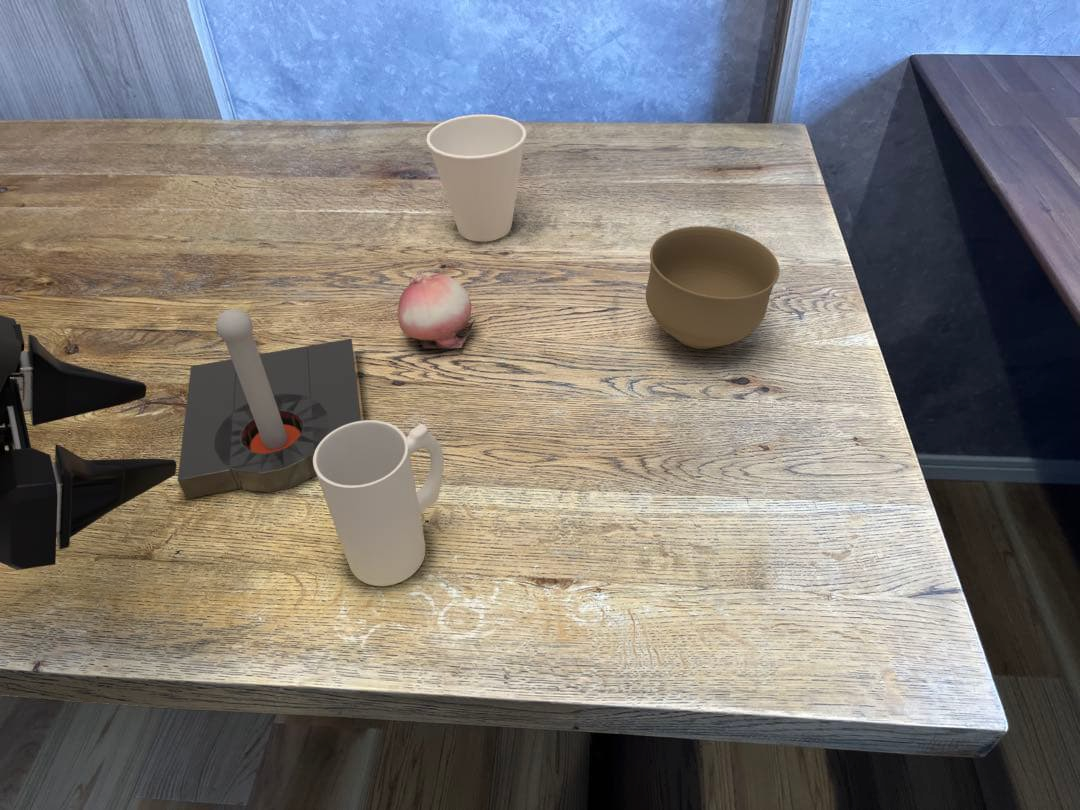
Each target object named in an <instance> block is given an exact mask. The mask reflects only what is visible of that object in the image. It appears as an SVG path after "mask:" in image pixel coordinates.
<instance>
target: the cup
mask: <svg viewBox="0 0 1080 810" xmlns="http://www.w3.org/2000/svg"><path fill="white" fill-rule="evenodd" d="M526 139H527V129H526V128H525V127H524V126H523V124H522V123H520V122H518V121H517V120H515V119H513V118H510V117H507V116H502V115H497V114H487V113H486V114H469V115H462V116H456V117H454V118H450V119H447V120H444V121H443V122H440V123H438V124H436V125H435V126H434V127H432V128H431V129H430V131H429V132H428V133H427V135H426V139H425V142H426V146H427V147H428V149H429V151H430V154H431V157H432V161H433V163H434V166H435V168H436V171H437V174H438V177H439V179H440V182H441V185H442V188H443V191H444V193H445V198H446V200H447V203H448V205H449V208H450V211H451V214H452V217H453V220H454V222H455V225H456V228H457V231H458V234H459V235H460V236H461V237H462V238H464V239H466V240H469V241H472V242H477V243H479V242H480V243H483V242H484V243H485V242H492V241H497V240H499V239H502V238H504V237H505V236H507V235H508V234H509V233H510V232H511V230H512V225H513V219H514V213H515V207H516V200H517V195H518V187H519V181H520V177H521V176H520V175H521V169H522V162H523V157H524V156H523V155H524V149H525V144H526Z"/></svg>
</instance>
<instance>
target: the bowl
mask: <svg viewBox="0 0 1080 810" xmlns="http://www.w3.org/2000/svg"><path fill="white" fill-rule="evenodd" d="M649 261H650V267H649V274H648V279H647V284H646V288H645V289H646V290H645V301H646V306H647V308H648V311H649V312H650V315H651V316H652V318H653V319H654V321H655V322H656V323H657V324H658V325H659V327H660V328H661V329H663V330H664V332H666V333H667V334H668V335H669V336H672V338H674V339H676V340H677V341H678V342H679V343H680V344H682V345H684V346H686V347H688V348H689V347H690V348H691V349H692V348H693V349H695V350H708V349H714V348H716V347H722V346H727V345H731V344H733V343H736V342H738V341H740V340H742V339H745V338H746V337H747V336H750V335H751V334H752V333H754V331H756V330H757V329H758V328H759V327H760V325H761V324H762V322H763V321H764V318H765V316H766V313H767V309H768V305H769V300H770V297H771V294H772V292H773V288H774V287H775V285H776V284H777V282H778V280H779V278H780V277H779V276H780V270H781V269H780V265H779V262H778V260H777V258H776V256H775V255H774V254H773V253H772V251H771V250H770V249H769V248H768V247H766V246H765V245H764V244H763V243H761V242H759V241H758V240H756V239H754V238H753V237H750V236H748V235H746V234H744V233H741V232H738V231H736V230H731V229H729V228H728V229H726V228H724V227H723V228H722V227H716V226H707V225H705V226H704V225H699V226H698V225H697V226H687V227H681V228H676V229H673V230H671V231H668V232H665V233H664V234H662V235H661V236H659V237H658V238H657V239H656V240H655V241H654V242H653V244H652V245H651V248H650V251H649Z"/></svg>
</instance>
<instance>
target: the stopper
mask: <svg viewBox="0 0 1080 810" xmlns="http://www.w3.org/2000/svg"><path fill="white" fill-rule="evenodd" d="M215 329H216V333H217V334H218V337H220V338H221V339H222V341H224V343H225V345H226V349H227V351H228V353H229V356H230V359H232V361H233V364H234V367H235V369H236V372H237V375H238V377H239V380H240V383H241V385H242V388H243V391H244V394H245V396H246V399H247V402H248V404H249V407H250V410H251V412H252V415H253V418H254V420H255V423H256V426H257V428H258V431H259V433H258V434H257V435H256V436H255V437H254V438H253V440H252V442H251V446H250V447H251V451H253V452H256V453H270V452H275V451H280V450H282V449H284V448H286V447H288V446H290V445H291V444H292V443H293V442H295V441H296V440H297V439H298V438H299V436H300V434H301V433H300V431H299V430H298V429H297V428H295V427H293V426H291V425H285V424H283V422H282V419H281V416H280V413H279V411H278V408H277V405H276V402H275V399H274V396H273V393H272V390H271V387H270V384H269V381H268V378H267V376H266V373H265V370H264V367H263V364H262V361H261V358H260V355H259V354H260V353H259V350H258V347H257V344H256V340H255V338H254V334H253V330H254V324H253V320H252V318H251V317H250V315H249V314H248V313H246V312H245V310H241V309H239V308H230V309H226V310H224V311H222V312H221V313H220V314H219V316H218V317H217V319H216V323H215Z"/></svg>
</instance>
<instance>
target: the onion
mask: <svg viewBox="0 0 1080 810" xmlns="http://www.w3.org/2000/svg"><path fill="white" fill-rule="evenodd" d="M471 314H472V300H471V298H470V294H469V293H468V292H467V290H466V288H465V287H464V286H463V285H462V284H461V283H460V282H459V281H458V280H456V279H454V278H453V277H450V276H448V275H444V274H441V273H438V272H424V273H422V274H419V275H417V276H415V277H413V278H412V279H410V281H409V283H408V285H407V286H406V288H404V290H403V291H402V293H401V295H400V296H399V300H398V305H397V320H398V326H399V328H400V330H401V332H402V333H404V334H405V336H408V337H409V338H413V339H416V340H419V341H420V343H421V345H422V348H423V349H462V347H463V345H464V343H465V342H466V340H467V338H468V336H469V334H470V331H472V329H473V326H474V323H475V322H476V320H477V317H475V318H474V319H473V320H472V322H471V323H470V324H469V325H468V323H469V321H470V318H471V316H472V315H471ZM466 327H467V329H468V331H467V334H466V335H465V336H464V337H463V336H460V337H459V336H457V334H458V333H460V332H461V331H464V330H463V329H465V328H466Z"/></svg>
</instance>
